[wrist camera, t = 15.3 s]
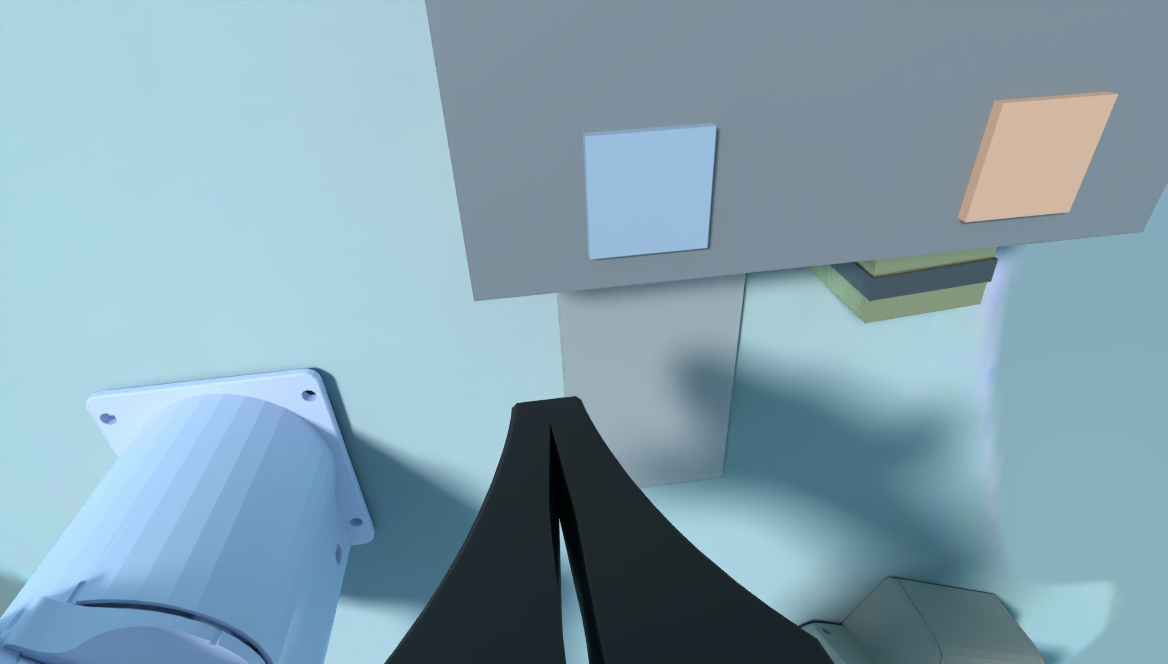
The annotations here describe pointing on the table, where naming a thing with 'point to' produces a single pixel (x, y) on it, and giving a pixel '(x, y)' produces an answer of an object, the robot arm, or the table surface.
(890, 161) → the socket bank
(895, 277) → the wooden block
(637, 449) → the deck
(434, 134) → the table surface
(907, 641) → the digital clock
